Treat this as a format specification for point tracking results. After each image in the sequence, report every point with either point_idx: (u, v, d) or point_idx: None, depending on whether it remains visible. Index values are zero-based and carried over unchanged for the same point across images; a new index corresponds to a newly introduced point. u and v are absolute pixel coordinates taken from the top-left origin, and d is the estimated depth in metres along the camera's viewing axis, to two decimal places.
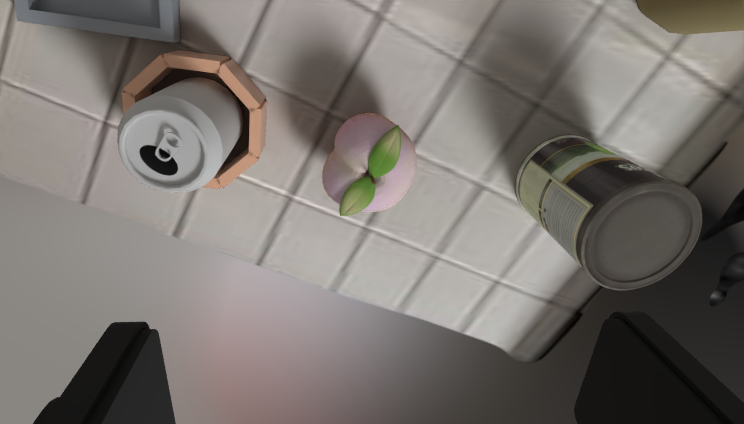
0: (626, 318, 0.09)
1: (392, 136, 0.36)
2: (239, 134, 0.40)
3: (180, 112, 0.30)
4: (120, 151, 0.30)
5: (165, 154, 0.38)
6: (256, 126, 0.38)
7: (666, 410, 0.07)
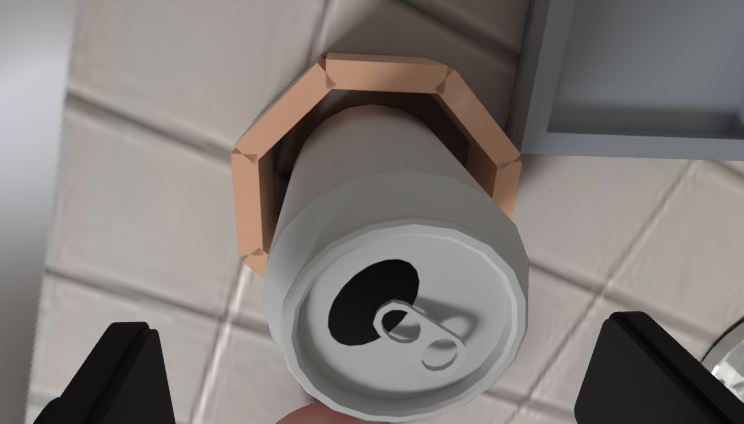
0: (626, 318, 0.09)
1: None
2: None
3: None
4: (406, 226, 0.09)
5: (308, 152, 0.16)
6: None
7: (666, 410, 0.07)
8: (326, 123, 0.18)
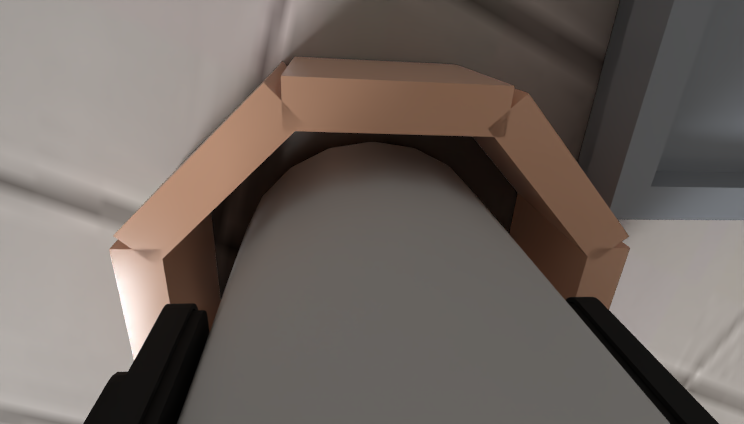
0: (577, 303, 0.09)
1: None
2: None
3: None
4: None
5: (254, 246, 0.09)
6: None
7: None
8: (292, 178, 0.11)
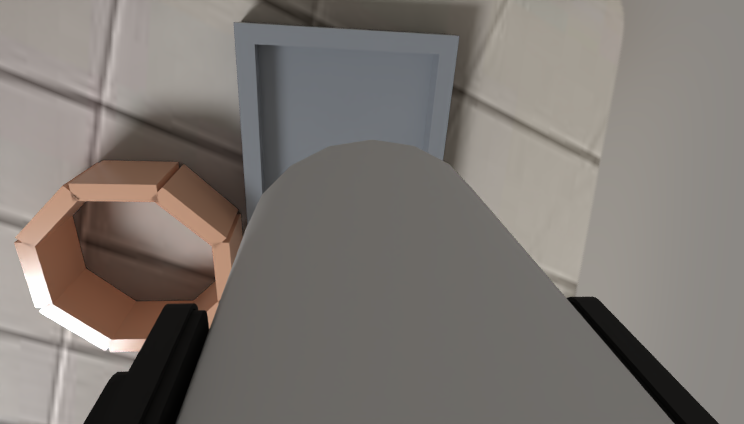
0: (577, 303, 0.09)
1: None
2: None
3: None
4: None
5: (254, 244, 0.09)
6: None
7: None
8: (292, 176, 0.11)
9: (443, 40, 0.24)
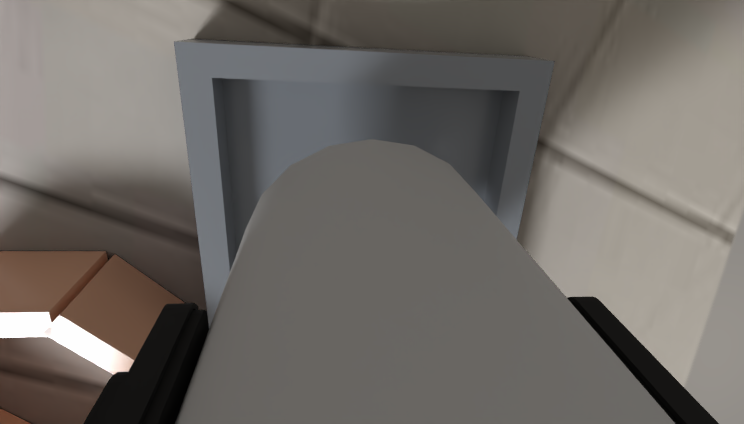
0: (577, 303, 0.09)
1: None
2: None
3: None
4: None
5: (254, 244, 0.09)
6: None
7: None
8: (292, 176, 0.11)
9: (528, 68, 0.14)
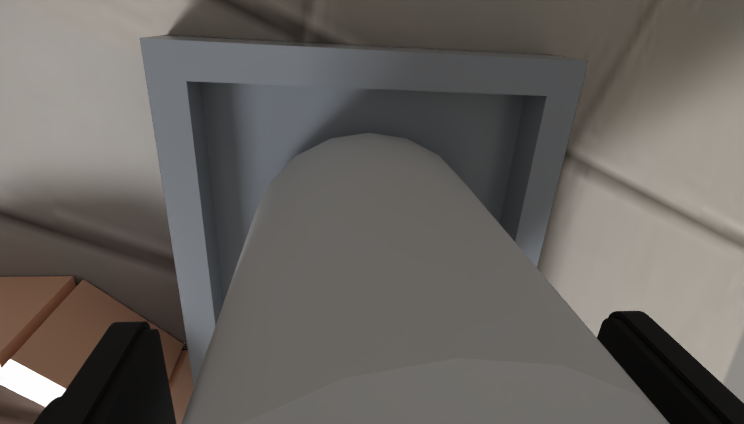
0: (625, 318, 0.09)
1: None
2: None
3: None
4: None
5: (265, 221, 0.10)
6: None
7: (665, 409, 0.07)
8: (297, 165, 0.12)
9: (557, 70, 0.12)
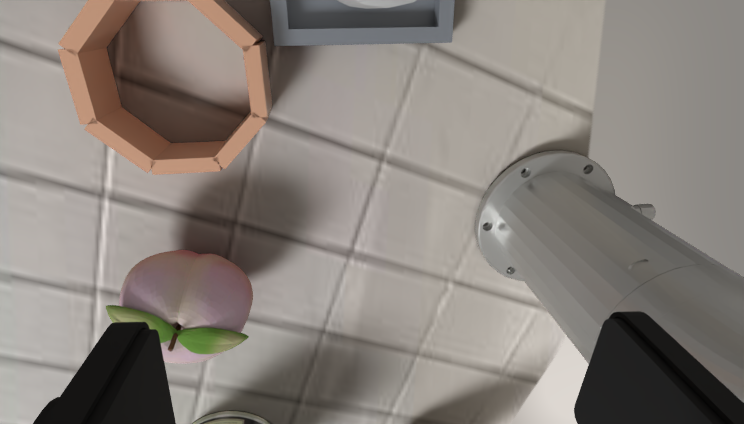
0: (626, 318, 0.09)
1: (234, 340, 0.30)
2: (355, 6, 0.27)
3: None
4: None
5: None
6: (194, 166, 0.29)
7: (666, 410, 0.07)
8: None
9: None
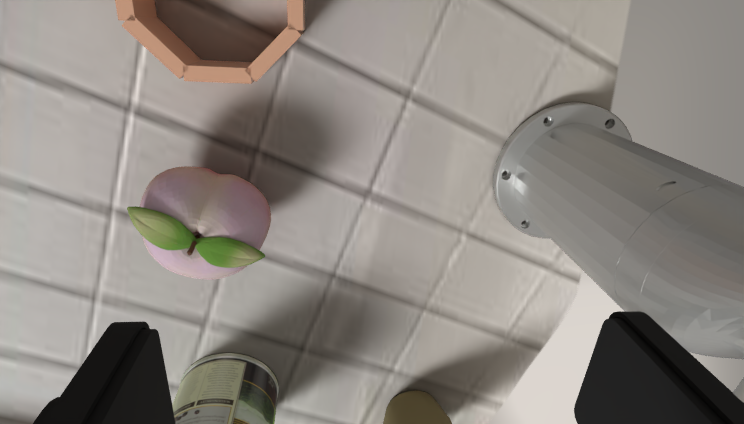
0: (626, 318, 0.09)
1: (251, 256, 0.30)
2: None
3: None
4: None
5: None
6: (226, 76, 0.29)
7: (666, 410, 0.07)
8: None
9: None
